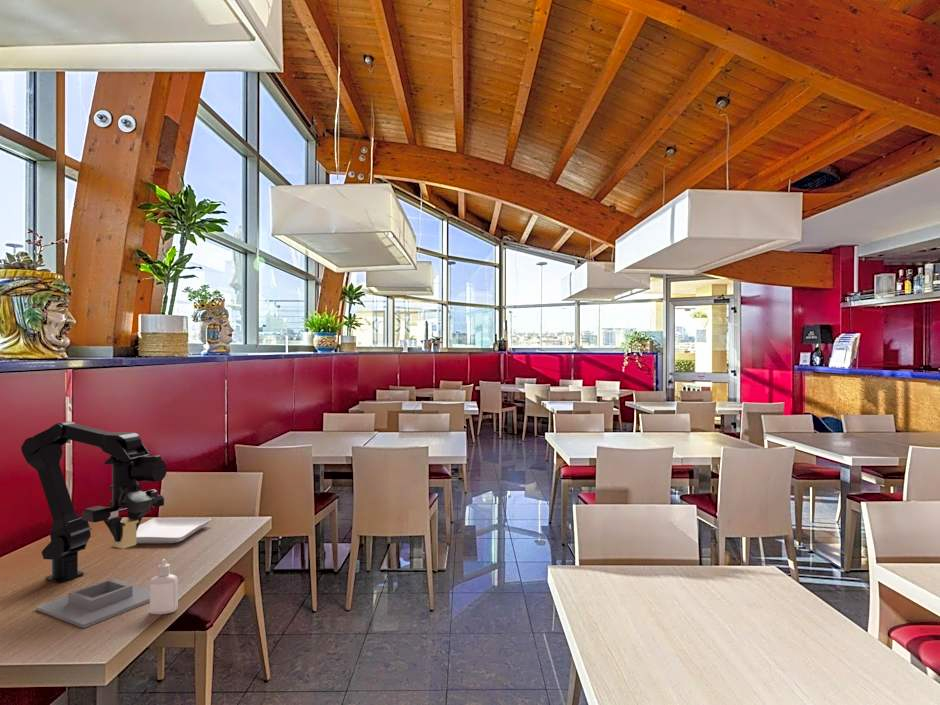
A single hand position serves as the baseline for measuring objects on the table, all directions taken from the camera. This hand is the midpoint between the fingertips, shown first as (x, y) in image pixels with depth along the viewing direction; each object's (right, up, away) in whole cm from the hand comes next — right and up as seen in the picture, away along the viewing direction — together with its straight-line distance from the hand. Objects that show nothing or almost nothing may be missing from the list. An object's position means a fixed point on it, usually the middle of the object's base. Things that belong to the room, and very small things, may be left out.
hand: (125, 539), depth 147 cm
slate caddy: (+3, -11, -14) cm, 18 cm away
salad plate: (-10, -12, +38) cm, 41 cm away
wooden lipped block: (0, -2, 0) cm, 2 cm away
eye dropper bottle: (+21, -11, -19) cm, 30 cm away
